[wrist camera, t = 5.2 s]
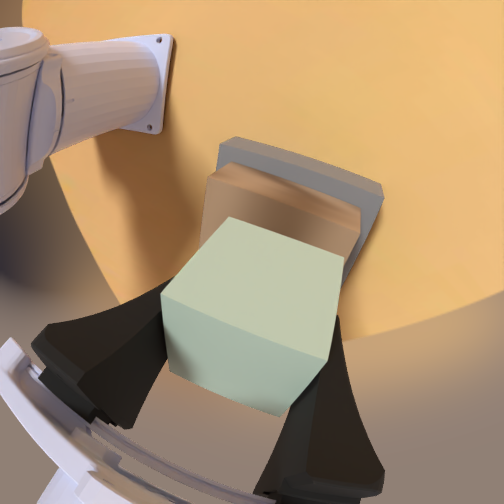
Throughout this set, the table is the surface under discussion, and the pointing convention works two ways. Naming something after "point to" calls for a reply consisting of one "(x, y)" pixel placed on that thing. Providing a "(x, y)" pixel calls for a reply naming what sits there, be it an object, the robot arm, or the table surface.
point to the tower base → (310, 180)
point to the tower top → (279, 209)
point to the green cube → (252, 315)
